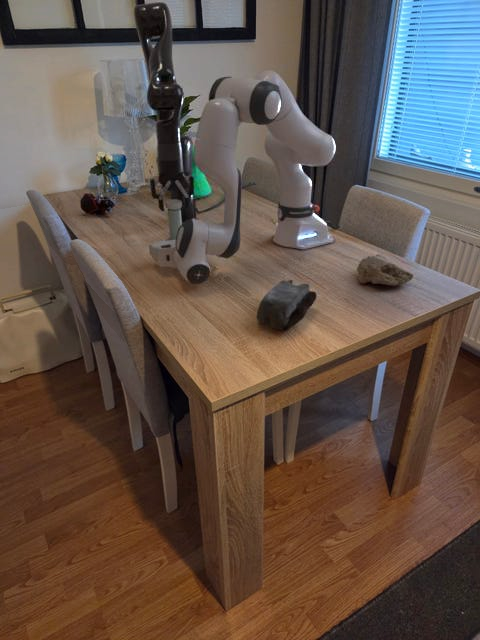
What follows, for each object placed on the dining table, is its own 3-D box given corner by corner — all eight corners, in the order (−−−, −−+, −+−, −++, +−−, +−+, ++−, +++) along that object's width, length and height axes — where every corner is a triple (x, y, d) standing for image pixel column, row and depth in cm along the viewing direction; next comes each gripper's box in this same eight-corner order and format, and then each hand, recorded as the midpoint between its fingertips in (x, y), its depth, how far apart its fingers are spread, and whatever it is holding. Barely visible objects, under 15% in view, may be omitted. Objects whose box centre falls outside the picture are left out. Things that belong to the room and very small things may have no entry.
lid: (162, 206, 145) (162, 201, 144) (176, 203, 148) (176, 198, 147) (171, 210, 142) (170, 205, 141) (185, 207, 144) (184, 202, 143)
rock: (291, 341, 110) (294, 313, 105) (251, 329, 114) (251, 302, 110) (317, 308, 123) (320, 283, 119) (280, 299, 128) (281, 274, 124)
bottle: (182, 253, 156) (178, 201, 147) (185, 257, 153) (181, 205, 143) (170, 255, 155) (165, 203, 145) (173, 259, 152) (168, 206, 142)
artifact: (374, 296, 130) (415, 290, 135) (381, 274, 126) (423, 268, 131) (341, 267, 144) (380, 262, 149) (346, 246, 140) (385, 242, 145)
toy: (107, 186, 182) (78, 185, 188) (99, 205, 180) (70, 204, 185) (122, 203, 193) (95, 201, 198) (115, 222, 190) (87, 220, 196)
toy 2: (167, 190, 223) (163, 137, 210) (207, 188, 227) (205, 135, 214) (172, 202, 206) (167, 145, 193) (214, 199, 210) (213, 143, 197)
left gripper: (190, 153, 141) (193, 204, 150) (145, 155, 138) (150, 208, 146) (195, 157, 135) (198, 211, 144) (148, 161, 132) (153, 215, 140)
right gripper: (216, 240, 142) (204, 226, 153) (152, 248, 136) (145, 233, 147) (217, 258, 145) (205, 243, 156) (154, 267, 139) (147, 251, 150)
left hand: (174, 209), depth 145 cm, fingers open, 7 cm apart
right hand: (175, 238), depth 151 cm, fingers closed on bottle, 4 cm apart
